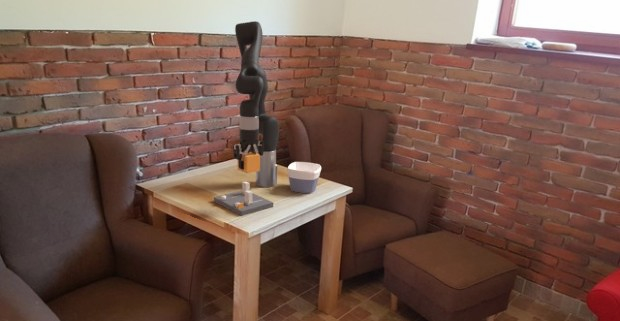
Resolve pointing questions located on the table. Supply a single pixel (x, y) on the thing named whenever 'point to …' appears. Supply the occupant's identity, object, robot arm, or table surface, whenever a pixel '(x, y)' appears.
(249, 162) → the orange block
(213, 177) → the table surface
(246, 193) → the block
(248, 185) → the untagged breaker
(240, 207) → the breaker panel
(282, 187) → the table surface
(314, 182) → the bowl
